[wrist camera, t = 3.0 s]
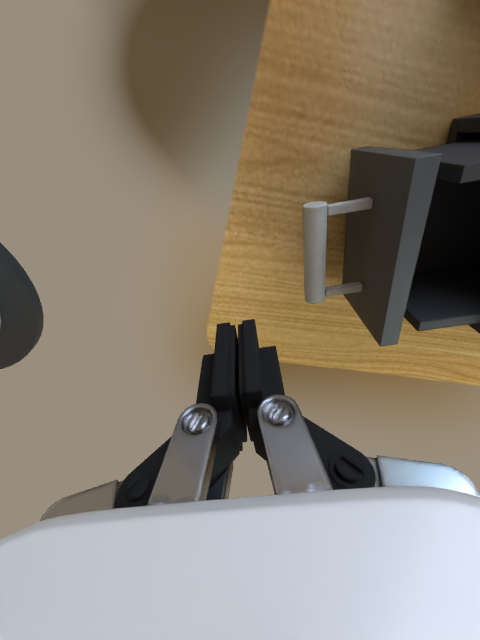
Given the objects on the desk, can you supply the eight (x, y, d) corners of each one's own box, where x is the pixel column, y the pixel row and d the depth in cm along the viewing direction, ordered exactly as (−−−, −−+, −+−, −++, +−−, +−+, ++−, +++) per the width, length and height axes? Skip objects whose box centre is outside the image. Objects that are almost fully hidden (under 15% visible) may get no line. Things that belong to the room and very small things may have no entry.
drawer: (295, 299, 25) (318, 355, 19) (289, 160, 19) (320, 175, 12) (492, 268, 24) (587, 318, 18) (558, 110, 18) (744, 98, 11)
